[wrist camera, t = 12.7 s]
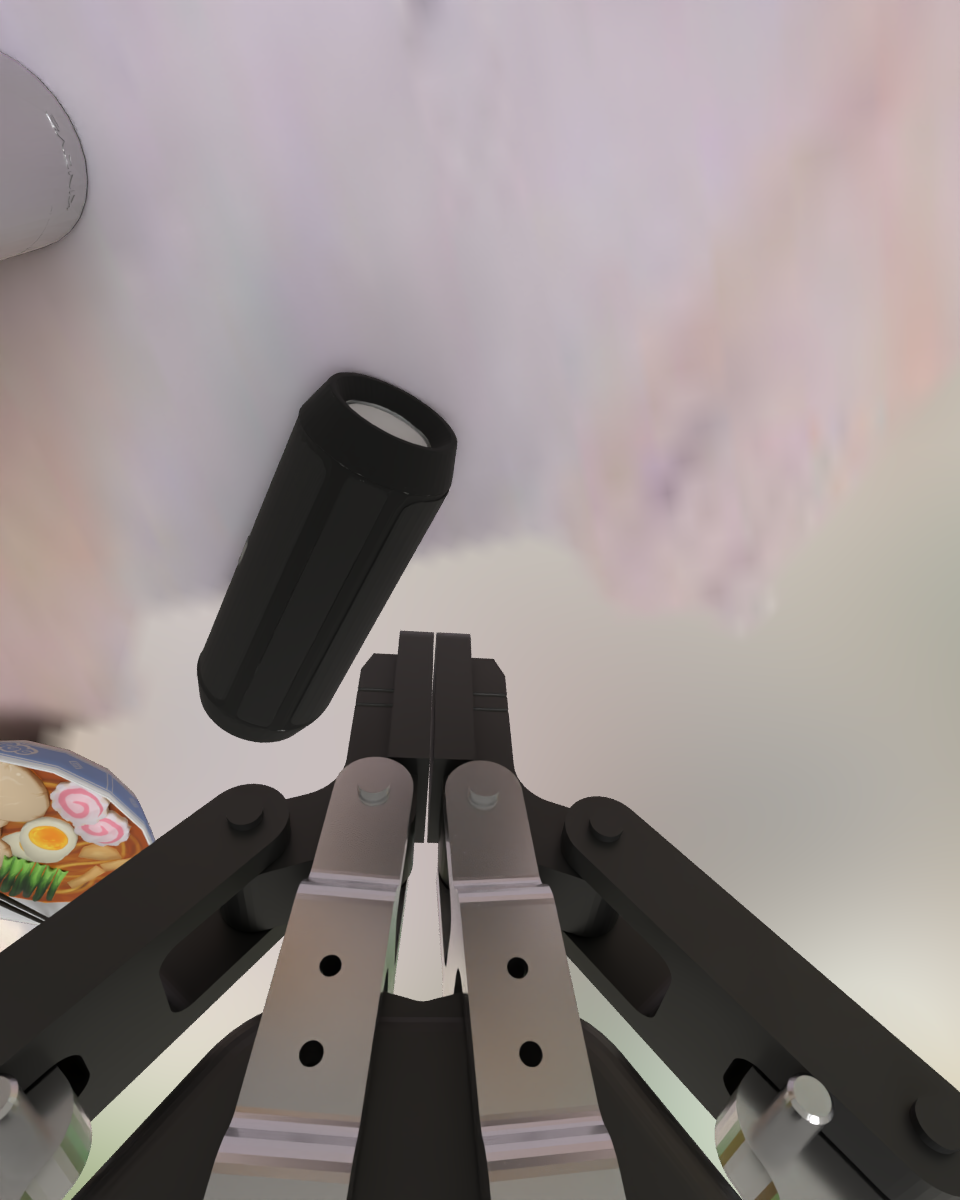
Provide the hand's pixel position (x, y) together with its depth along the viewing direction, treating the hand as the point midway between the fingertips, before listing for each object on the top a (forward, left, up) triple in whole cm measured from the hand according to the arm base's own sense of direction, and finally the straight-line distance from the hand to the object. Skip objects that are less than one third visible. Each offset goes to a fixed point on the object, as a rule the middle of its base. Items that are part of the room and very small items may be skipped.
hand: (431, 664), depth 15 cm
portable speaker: (-8, -16, -33) cm, 38 cm away
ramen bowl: (-33, -44, -33) cm, 64 cm away
